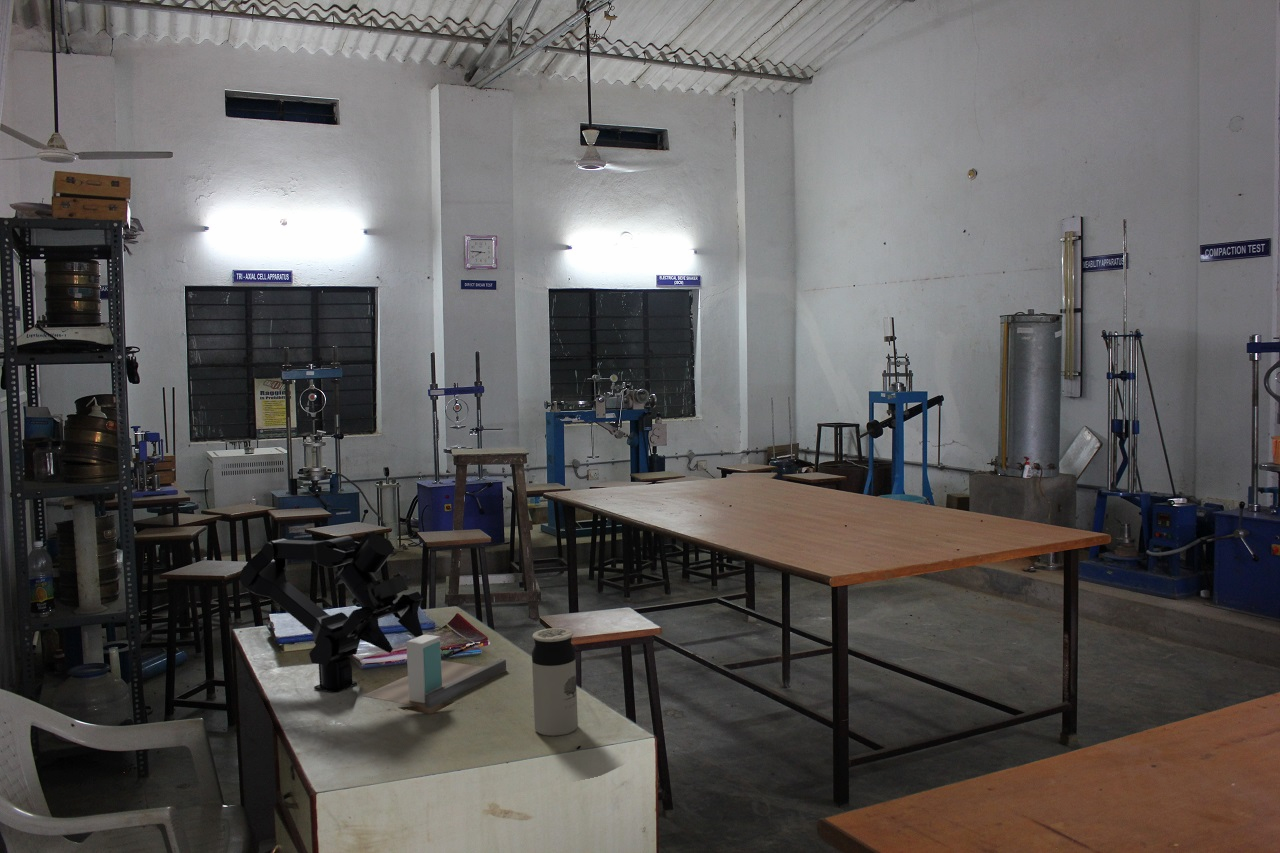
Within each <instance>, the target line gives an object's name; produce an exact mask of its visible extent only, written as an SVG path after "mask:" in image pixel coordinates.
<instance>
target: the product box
mask: <svg viewBox="0 0 1280 853" xmlns="http://www.w3.org/2000/svg"><path fill="white" fill-rule="evenodd" d="M440 637H441V636H439V635H432V634H431V635H430V634H424V633H423V635H422V636H419V637H417V638H416V637H414V638H411V639H410V640H407V641H406V663H407V664H406V665H407V666H406V667H407V676H408V688H409V701H415V702H421V703H425V695H427V694H429V693H431V692H433V691H435V690H437V689H439V688H442V671H441V661H442V658H441V649H440Z"/></svg>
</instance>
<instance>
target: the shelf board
mask: <svg viewBox="0 0 1280 853" xmlns="http://www.w3.org/2000/svg"><path fill="white" fill-rule="evenodd" d="M441 671H442V688H439V689H437V690H435V691H433V692H431V693H429V694H427V695H425V703H421V702H415V701H409V688H408V675H406V676H404V677H401V678H399V679H397V680H395V681H392V682H391V683H390V682H389V683H388V684H386V685H383V686H381V687H379V688H376V689H375V690H372V691H369V692H368V693H365V694H363V695H362V697H366V698H372V699H376V700H382V701H388V702H394V703H399V704H405V705H409V706H401V707H399V709H400V710H406V711H411V712H416V713H422V714H428V715H432V714H434V713H436V712H438V711H440V710H442V709H443V708H444V709H445V708H446V707H448V706H450V705H452V704H454V702H453V701H452V702H446V701H448V700H450V699H452V698H454V697H456V696H458V695H460V694H463V693H464V692H466V691H469V690H470V689H472V688H475V687H476V686H479V685H481V684H482V683H484V682H486V681H489V680H490V679H492V678H494V677H496V676H498V675H500V674H503V673H504V672H507V659H505V658H503V659H502V658H500V659H498V660H496V661H494V662H492V663H489V664H488V665H486V666H481V665H480V666H479V665H471V664H468V663H467V664H466V663H459V662H452V661H446V660H441Z"/></svg>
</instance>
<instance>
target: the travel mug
mask: <svg viewBox="0 0 1280 853" xmlns="http://www.w3.org/2000/svg"><path fill="white" fill-rule="evenodd" d="M573 636H574V631H572V630H570V629H568V628H559V627H553V628H552V627H551V628H550V627H549V628H545V629H544V628H543V629H540V630H537V631H535V632H533V634H532V638H533V640H534V647H533V649H532V651H531V663H532V664H531V667H532V689H533V690H532V693H533V713H534V714H533V715H534V716H533V718H534V721H533V722H534V730H535V732H536V733H538V734H540V735H543V736H546V737H547V736H548V737H559V736H558V735H561V736H563V735H564V736H565V735H568V734H570V733H572V732H574V731H576V730H577V729H578V726H579V725H578V724H579V722H578V721H579V720H578V719H579V718H578V696H577V695H578V694H577V693H578V692H577V669H576V666H577V665H576V649H575V646H574V645H573V643H572V639H573V638H572V637H573Z"/></svg>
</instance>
